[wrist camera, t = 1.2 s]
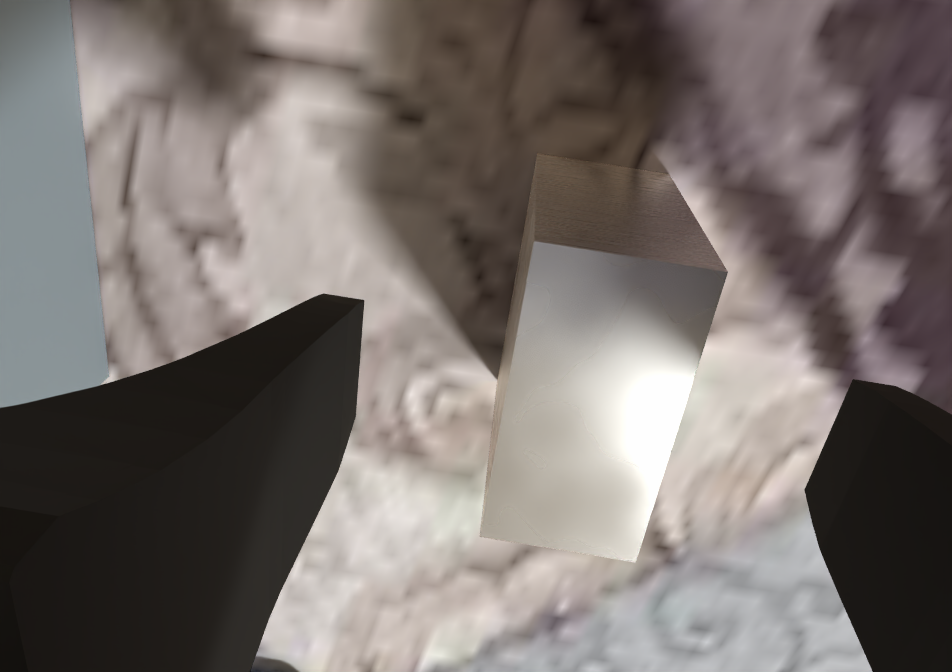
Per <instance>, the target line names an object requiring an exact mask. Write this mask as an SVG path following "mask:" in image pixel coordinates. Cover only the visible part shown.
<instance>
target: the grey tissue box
mask: <svg viewBox="0 0 952 672" xmlns="http://www.w3.org/2000/svg"><path fill="white" fill-rule="evenodd" d="M108 377H109V372H108V362H107V353H106V343H105V333H104V324H103V314H102V305H101V295H100V286H99V276H98V267H97V257H96V247H95V238H94V228H93V219H92V209H91V200H90V190H89V181H88V171H87V161H86V152H85V142H84V133H83V123H82V114H81V104H80V95H79V85H78V75H77V66H76V56H75V47H74V37H73V28H72V18H71V9H70V0H0V408H2V407H8V406H13V405H18V404H23V403H28V402H32V401H36V400H41V399H45V398H49V397H53V396H57V395H62V394H66V393H70V392H74V391H79V390H83V389H87V388H91V387H96V386H99V385H100V384H101V383H102V382H103V381H104V380H106V379H107V378H108Z"/></svg>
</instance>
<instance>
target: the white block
mask: <svg viewBox="0 0 952 672" xmlns="http://www.w3.org/2000/svg"><path fill="white" fill-rule="evenodd" d="M727 273H728V271H727V270H726V268H725V266H724V265H723V263H722V261H721V260H720V258H719V256H718V255H717V253H716V251H715V250H714V248H713V246H712V245H711V243H710V241H709V240H708V238H707V236H706V235H705V233H704V231H703V230H702V228H701V226H700V225H699V223H698V221H697V220H696V218H695V216H694V215H693V213H692V211H691V210H690V208H689V206H688V205H687V203H686V201H685V200H684V198H683V196H682V195H681V193H680V191H679V190H678V188H677V186H676V185H675V183H674V181H673V180H672V178H671V176H670V175H669V174H666V173H660V172H653V171H647V170H641V169H634V168H628V167H622V166H615V165H609V164H603V163H596V162H590V161H584V160H578V159H571V158H565V157H559V156H552V155H546V154H540V153H537V157H536V163H535V169H534V174H533V180H532V186H531V191H530V197H529V203H528V208H527V214H526V220H525V226H524V231H523V237H522V243H521V248H520V254H519V260H518V265H517V271H516V277H515V282H514V288H513V294H512V299H511V305H510V311H509V316H508V322H507V328H506V333H505V339H504V345H503V351H502V356H501V362H500V368H499V373H498V379H497V387H496V396H495V405H494V414H493V423H492V432H491V441H490V450H489V458H488V467H487V476H486V485H485V494H484V503H483V512H482V521H481V530H480V537H484V538H490V539H496V540H502V541H508V542H514V543H520V544H527V545H533V546H539V547H545V548H551V549H557V550H563V551H569V552H575V553H581V554H587V555H594V556H600V557H606V558H612V559H618V560H624V561H630V562H636V560H637V556H638V553H639V550H640V547H641V544H642V541H643V538H644V534H645V531H646V528H647V525H648V522H649V519H650V516H651V512H652V509H653V506H654V503H655V500H656V497H657V494H658V490H659V487H660V484H661V481H662V478H663V475H664V471H665V468H666V465H667V462H668V459H669V456H670V453H671V449H672V446H673V443H674V440H675V437H676V434H677V431H678V427H679V424H680V421H681V418H682V415H683V412H684V409H685V405H686V402H687V399H688V396H689V393H690V390H691V386H692V383H693V380H694V377H695V374H696V371H697V368H698V364H699V361H700V358H701V355H702V352H703V349H704V346H705V342H706V339H707V336H708V333H709V330H710V327H711V324H712V320H713V317H714V314H715V311H716V308H717V305H718V302H719V298H720V295H721V292H722V289H723V286H724V283H725V279H726V276H727Z"/></svg>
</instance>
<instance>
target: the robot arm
mask: <svg viewBox="0 0 952 672" xmlns="http://www.w3.org/2000/svg"><path fill="white" fill-rule="evenodd" d="M363 311H364V300H360V299H354V298H348V297H341V296H335V295H329V294H321V295H318V296H316V297H313V298H311V299H309V300H307V301H305V302H303V303H301V304H299V305H297V306H295V307H293V308H291V309H289V310H287V311H285V312H283V313H281V314H279V315H277V316H275V317H273V318H271V319H269V320H267V321H265V322H263V323H261V324H259V325H256V326H254V327H252V328H250V329H248V330H246V331H244V332H242V333H240V334H238V335H236V336H233V337H231V338H229V339H226V340H224V341H222V342H219V343H217V344H215V345H212V346H210V347H208V348H205V349H203V350H201V351H198V352H196V353H194V354H192V355H189V356H187V357H185V358H182V359H179V360H177V361H174V362H171V363H169V364H166V365H163V366H160V367H157V368H155V369H152V370H149V371H146V372H142V373H139V374H136V375H133V376H130V377H127V378H123V379H120V380H117V381H114V382H110V383H107V384H103V385H100V386H96V387H91V388H87V389H83V390H79V391H74V392H70V393H66V394H62V395H57V396H53V397H49V398H45V399H41V400H36V401H32V402H28V403H23V404H18V405H13V406H8V407H2V408H0V672H250V670H251V668H252V665H253V662H254V659H255V656H256V654H257V651H258V648H259V645H260V642H261V640H262V637H263V634H264V631H265V628H266V625H267V623H268V620H269V617H270V615H271V613H272V610H273V608H274V606H275V603H276V601H277V599H278V596H279V594H280V592H281V589H282V587H283V585H284V583H285V581H286V579H287V577H288V575H289V573H290V571H291V569H292V567H293V565H294V562H295V560H296V558H297V556H298V554H299V552H300V550H301V548H302V546H303V544H304V542H305V540H306V538H307V536H308V533H309V531H310V529H311V527H312V525H313V523H314V521H315V519H316V517H317V515H318V513H319V511H320V509H321V506H322V504H323V502H324V500H325V498H326V496H327V494H328V492H329V490H330V488H331V485H332V483H333V481H334V479H335V477H336V475H337V472H338V470H339V467H340V464H341V461H342V458H343V455H344V452H345V449H346V446H347V443H348V440H349V436H350V433H351V430H352V427H353V423H354V420H355V417H356V405H357V392H358V378H359V365H360V351H361V338H362V324H363ZM805 494H806V498H807V502H808V507H809V511H810V515H811V519H812V523H813V527H814V530H815V534H816V538H817V541H818V545H819V548H820V551H821V553H822V556H823V558H824V561H825V563H826V566H827V568H828V570H829V573H830V575H831V577H832V580H833V582H834V584H835V587H836V589H837V591H838V594H839V596H840V598H841V601H842V603H843V605H844V607H845V610H846V612H847V614H848V617H849V619H850V621H851V623H852V626H853V628H854V630H855V632H856V635H857V637H858V639H859V641H860V644H861V646H862V648H863V650H864V653H865V655H866V657H867V660H868V662H869V664H870V666H871V669H872V671H873V672H952V415H951V414H950V413H948V412H946V411H944V410H943V409H941V408H939V407H937V406H935V405H934V404H932V403H930V402H928V401H926V400H924V399H922V398H920V397H919V396H916V395H914V394H912V393H910V392H908V391H906V390H903V389H901V388H899V387H896V386H892V385H885V384H879V383H873V382H867V381H861V380H855V379H853V380H852V383H851V385H850V387H849V389H848V392H847V394H846V396H845V399H844V401H843V403H842V405H841V408H840V410H839V412H838V415H837V417H836V419H835V422H834V424H833V426H832V428H831V431H830V433H829V435H828V438H827V440H826V442H825V444H824V447H823V449H822V451H821V454H820V456H819V458H818V460H817V463H816V465H815V467H814V470H813V472H812V474H811V476H810V479H809V481H808V483H807V486H806V488H805Z"/></svg>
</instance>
